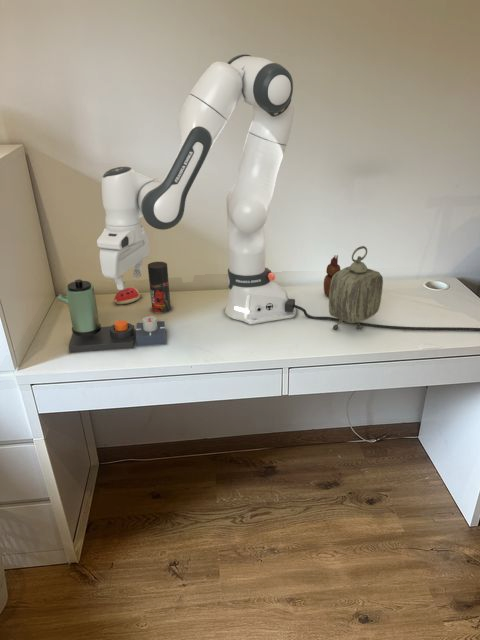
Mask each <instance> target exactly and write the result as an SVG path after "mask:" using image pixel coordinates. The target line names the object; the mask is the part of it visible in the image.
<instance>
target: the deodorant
mask: <svg viewBox="0 0 480 640" xmlns="http://www.w3.org/2000/svg"><path fill="white" fill-rule="evenodd" d="M147 273H148V274H147V275H148V282H149V283H148V284H149V292H150V293H149V294H150V302H151V311H152V313H156V314H165V313H168V312H170V311H171V310H172V307H171V305H172V304H171V293H170V282H169V272H168V263H167V262H165V261H153V262H149V263H148V264H147Z"/></svg>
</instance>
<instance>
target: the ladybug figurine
mask: <svg viewBox="0 0 480 640" xmlns="http://www.w3.org/2000/svg"><path fill="white" fill-rule="evenodd" d="M140 298H141V292H140V291H139V289H137V288H135V287H125V288H124V289H123V290H118V291H117V292H116V294H115V296H114V300H113V301H114V303H115V304H117V305H128V304H131V303H134V302H136V301H138V300H139V299H140Z"/></svg>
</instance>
